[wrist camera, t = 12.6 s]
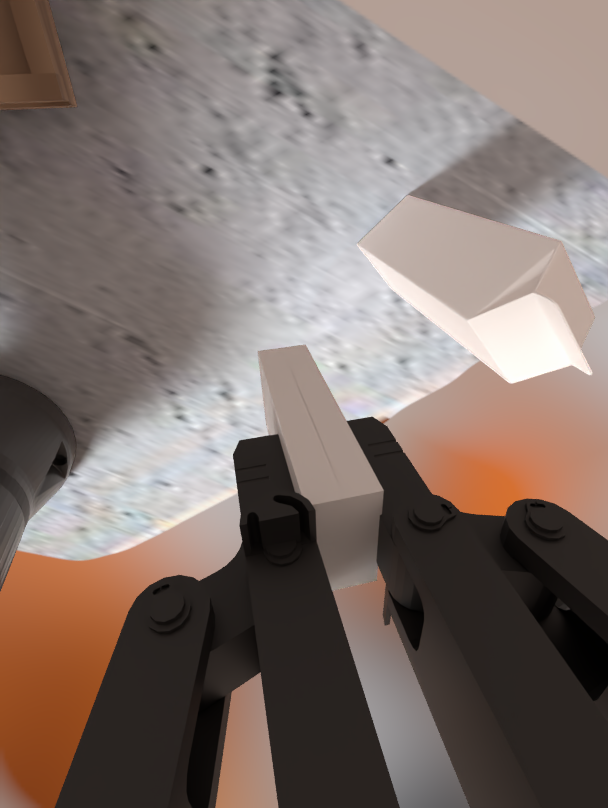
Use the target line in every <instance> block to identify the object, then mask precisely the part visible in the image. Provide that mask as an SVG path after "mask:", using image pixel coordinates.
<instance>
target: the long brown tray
mask: <svg viewBox="0 0 608 808" xmlns="http://www.w3.org/2000/svg"><path fill="white" fill-rule="evenodd" d="M66 107H77V103H76V100H75V96H74V92H73V89H72V85H71V82H70V78H69V74H68V71H67V67H66V63H65V60H64V56H63V52H62V49H61V45H60V41H59V38H58V34H57V30H56V27H55V23H54V20H53V16H52V12H51V9H50V5H49V1H48V0H0V110H20V109H43V108H66Z"/></svg>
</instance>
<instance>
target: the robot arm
mask: <svg viewBox="0 0 608 808" xmlns="http://www.w3.org/2000/svg"><path fill="white" fill-rule="evenodd" d="M258 358H259V366H260V375H261V384H262V393H263V401H264V410H265V419H266V425H267V429H268V433H269V436H263V437H257V438H251V439H246V440H240V441H239V443H238V445H237V447H236V449H235V451H234V454H233V459H234V466H235V474H236V482H237V489H238V496H239V503H240V512H241V518H240V531H241V536H242V544H241V547H240V550H239V551H238V553H237V554H236V556H235V557H234V558H233V559H232V560H231V561H230V562H229V563H228V564H227V565H226V566H225V567H223V568H222V569H220V570H219V571H217V572H215V573H213V574H212V575H210V576H208V577H206V578H204V579H202V580H200V581H198V580H196V579H195V578H193V577H188V576H182V575H177V576H172V577H166V578H163V579H161V580H159V581H157V582H155V583H153V584H151V585H149V586H148V587H147V588H146V589H145V590H144V591H143V592H142V593H141V594H140V595H139V596H138V597H137V598H136V600H135V601H134V603H133V605H132V607H131V608H130V610H129V612H128V615H127V617H126V620H125V623H124V626H123V628H122V630H121V633H120V636H119V638H118V641H117V644H116V647H115V649H114V652H113V654H112V657H111V660H110V663H109V665H108V668H107V670H106V673H105V676H104V678H103V681H102V684H101V686H100V689H99V692H98V694H97V697H96V700H95V702H94V705H93V707H92V710H91V713H90V715H89V718H88V721H87V724H86V726H85V729H84V732H83V734H82V737H81V739H80V742H79V745H78V748H77V750H76V753H75V755H74V758H73V761H72V763H71V766H70V769H69V771H68V774H67V776H66V779H65V782H64V784H63V787H62V790H61V792H60V795H59V798H58V800H57V803H56V806H55V808H215V806H216V799H217V798H216V797H217V792H218V784H219V777H220V770H221V762H222V756H223V749H224V742H225V735H226V727H227V721H228V714H229V707H230V700H231V692H232V691H233V690H235V689H236V688H238V687H239V686H240V685H242V684H244V683H245V682H247V681H248V680H249V679H251V678H252V677H254V676H255V675H257V674H258V673H260V672H261V678H262V686H263V694H264V700H265V708H266V716H267V724H268V731H269V739H270V746H271V753H272V761H273V769H274V776H275V784H276V791H277V799H278V806H279V808H400V807H399V804H398V801H397V797H396V794H395V791H394V788H393V784H392V781H391V778H390V775H389V772H388V769H387V765H386V762H385V759H384V756H383V752H382V749H381V746H380V743H379V740H378V736H377V733H376V730H375V727H374V723H373V720H372V717H371V714H370V711H369V708H368V704H367V701H366V698H365V695H364V691H363V688H362V685H361V682H360V679H359V676H358V672H357V669H356V666H355V662H354V660H353V656H352V653H351V650H350V647H349V643H348V640H347V637H346V634H345V631H344V627H343V624H342V621H341V618H340V614H339V611H338V608H337V605H336V601H335V598H334V595H333V592H332V591H334V590H339V589H342V588H347V587H351V586H356V585H360V584H364V583H369V582H373V581H377V569H378V567H379V569H380V571H381V573H382V576H383V578H384V581H385V583H386V588H385V598H384V608H383V618H384V624H385V625H388V624H390V616H392V618H393V621H394V623H395V626H396V628H397V631H398V633H399V636H400V638H401V640H402V643H403V645H404V648H405V650H406V653H407V655H408V658H409V660H410V662H411V665H412V667H413V670H414V672H415V674H416V677H417V679H418V682H419V684H420V686H421V689H422V692H423V694H424V696H425V699H426V701H427V704H428V706H429V709H430V711H431V713H432V716H433V718H434V721H435V723H436V726H437V728H438V731H439V733H440V736H441V738H442V740H443V743H444V745H445V748H446V750H447V753H448V755H449V757H450V760H451V762H452V765H453V767H454V770H455V772H456V774H457V777H458V779H459V782H460V784H461V787H462V789H463V792H464V794H465V796H466V799H467V801H468V804H469V806H470V808H608V540H607V539H605V538H604V537H603V536H601V535H600V534H598V533H597V532H596V531H594V530H593V529H591V528H590V527H589V526H587V525H586V524H585V523H583V522H582V521H581V520H579V519H578V518H577V517H575V516H574V515H572V514H571V513H570V512H568V511H566V510H565V509H563V508H561V507H559V506H558V505H556V504H554V503H550V502H547V501H544V500H539V499H523V500H519V501H515V502H514V503H513V504H512V505H511V506H509V507H508V509H507V512H506V516H491V515H476V514H469V513H463V512H460V511H459V510H458V509H457V508H456V507H455V506H454V505H453V504H452V503H451V502H450V501H448V500H446V499H444V498H442V497H440V496H437V495H433V494H432V493H431V492H430V490H429V489H428V487H427V486H426V484H425V483H424V481H423V480H422V478H421V477H420V476H419V474H418V472H417V471H416V469H415V468H414V466H413V465H412V463H411V462H410V460H409V459H408V457H407V456H406V454H405V453H403V450H402V448H401V447H400V445H399V444H398V442H396V439H395V438H394V436H393V435H392V433H391V432H390V430H389V429H388V427H387V426H386V425H384V424H383V423H381V422H380V421H378V420H377V419H375V418H374V417H368V418H362V419H356V420H350V421H346V419H345V417H344V416H343V414H342V412H341V410H340V408H339V406H338V404H337V402H336V401H335V399H334V397H333V395H332V393H331V391H330V389H329V388H328V386H327V384H326V382H325V380H324V378H323V376H322V375H321V373H320V371H319V369H318V367H317V365H316V363H315V361H314V360H313V358H312V356H311V354H310V352H309V350H308V348H307V347H306V345H299V346H292V347H285V348H278V349H270V350H263V351H258ZM75 453H76V441H75V436H74V432H73V430H72V427H71V425H70V423H69V421H68V420H67V418H66V417H65V415H64V414H63V413H62V411H61V410H60V409H59V408H58V407H57V406H56V405H55V404H54V403H53V402H52V401H51V400H49V399H48V398H47V397H46V396H44V395H43V394H41V393H40V392H38V391H37V390H35V389H33V388H32V387H30V386H28V385H26V384H24V383H22V382H19V381H17V380H14V379H11V378H9V377H5V376H2V375H0V591H1V588H2V586H3V583H4V581H5V578H6V576H7V573H8V571H9V568H10V565H11V563H12V560H13V558H14V555H15V553H16V550H17V548H18V545H19V542H20V540H21V537H22V535H23V532H24V529H25V527H26V525H27V522H28V521H29V520H30V519H31V518H32V517H33V516H34V515H35V514H36V513H37V512H38V511H39V510H40V509H41V508H42V507H43V506H44V505H45V504H46V503H47V502H48V501H49V500H50V499H51V498H52V497H53V496H54V495H55V494H56V493H57V492H58V490H59V489H60V488H61V487H62V485H63V484H64V482H65V481H66V479H67V477H68V475H69V472H70V470H71V467H72V464H73V461H74V458H75Z"/></svg>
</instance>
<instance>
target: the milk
mask: <svg viewBox="0 0 608 808" xmlns="http://www.w3.org/2000/svg"><path fill="white" fill-rule="evenodd" d="M357 246H358V247H359V248H360V250H361V251H362V252H363V253H364V255H365V256H366V257H367V259H368V260H369V261H370V262H371V264H372V265H373V266H374V268H375V269H376V270H377V271H378V273H379V274H380V275H381V276H382V278H383V279H384V280H385V282H386V283H387V284H388V285H389V287H390V288H391V289H392V290H393V291H394V292H395V293H397V294H398V295H399V296H400V297H402V298H403V299H404V300H405V301H407V302H408V303H409V304H410V305H412V306H413V307H414V308H416V309H417V310H418V311H419V312H421V313H422V314H423V315H424V316H426V317H427V318H428V319H429V320H431V321H432V322H433V323H434V324H436V325H437V326H438V327H439V328H441V329H442V330H443V331H444V332H446V333H447V334H448V335H449V336H451V337H452V338H453V339H455V340H456V341H457V342H458V343H460V344H461V345H462V346H463V347H465V348H466V349H467V350H468V351H470V352H471V353H472V354H473V355H475V356H476V357H477V358H478V359H480V360H481V361H482V362H484V363H485V364H486V365H487V366H489V367H490V368H491V369H492V370H494V371H495V372H496V373H498V374H499V375H500V376H501V377H503V378H504V379H505V380H506V381H507V382H509V383H515V382H519V381H522V380H525V379H528V378H532V377H535V376H538V375H541V374H545V373H548V372H551V371H554V370H557V369H560V368H564V367H567V366H570V365H573V366H575V367H576V368H578V369H580V370H581V371H583V372H585V373H586V374H588V375H592V371H591V369H590V367H589V365H588V363H587V361H586V359H585V357H584V355H583V353H582V351H581V347H582V345H583V343H584V340H585V338H586V336H587V334H588V332H589V330H590V328H591V325H592V324H593V321H594V319H595V316H594V313H593V311H592V309H591V306H590V304H589V302H588V300H587V297H586V295H585V293H584V291H583V288H582V286H581V284H580V282H579V279H578V277H577V275H576V272H575V270H574V268H573V266H572V263H571V261H570V259H569V257H568V254H567V252H566V250H565V248H564V245H563V243H562V241H559V240H556V239H553V238H550V237H546V236H543V235H540V234H536V233H533V232H530V231H526V230H523V229H520V228H516V227H513V226H510V225H506V224H503V223H500V222H496V221H493V220H490V219H486V218H483V217H480V216H476V215H473V214H470V213H466V212H463V211H460V210H456V209H453V208H450V207H447V206H443V205H440V204H437V203H433V202H430V201H427V200H423V199H420V198H417V197H413V196H410V195H407V196H406V197H405V198H404V199H403V200H402V201H401V202H400V203H399V204H398V205H397V206H396V207H395V208H394V209H393V210H392V211H390V212H389V213H388V214H387V215H386V216H385V217H384V218H383V219H382V220H381V221H380V222H379V223H378V224H377V225H376V226H375V227H374V228H373V229H372V230H371V231H370V232H369V233H368V234H367V235H366V236H365V237H363V238H362V239H361V240H360V241H359V242H358V243H357Z"/></svg>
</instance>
